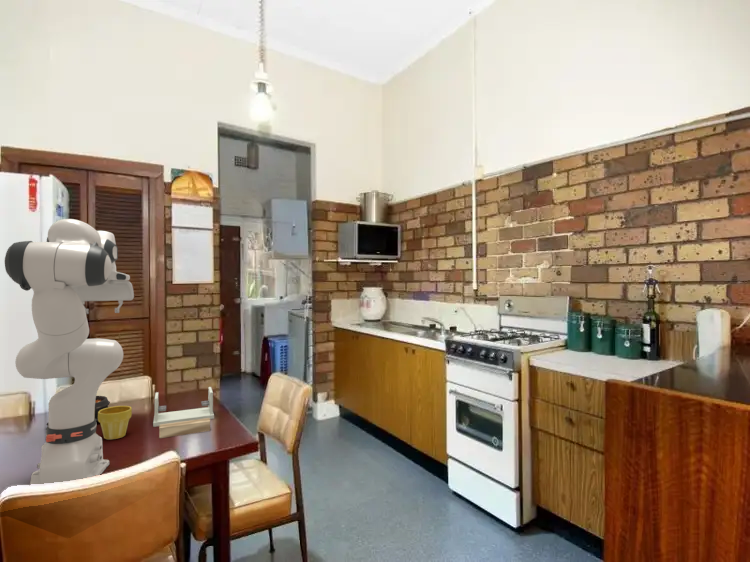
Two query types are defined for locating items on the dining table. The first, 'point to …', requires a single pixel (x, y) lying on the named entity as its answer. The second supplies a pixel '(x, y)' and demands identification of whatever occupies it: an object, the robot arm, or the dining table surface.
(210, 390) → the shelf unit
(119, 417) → the plant pot
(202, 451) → the dining table surface
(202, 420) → the pine batten
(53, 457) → the robot arm
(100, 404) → the casserole
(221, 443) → the dining table surface
